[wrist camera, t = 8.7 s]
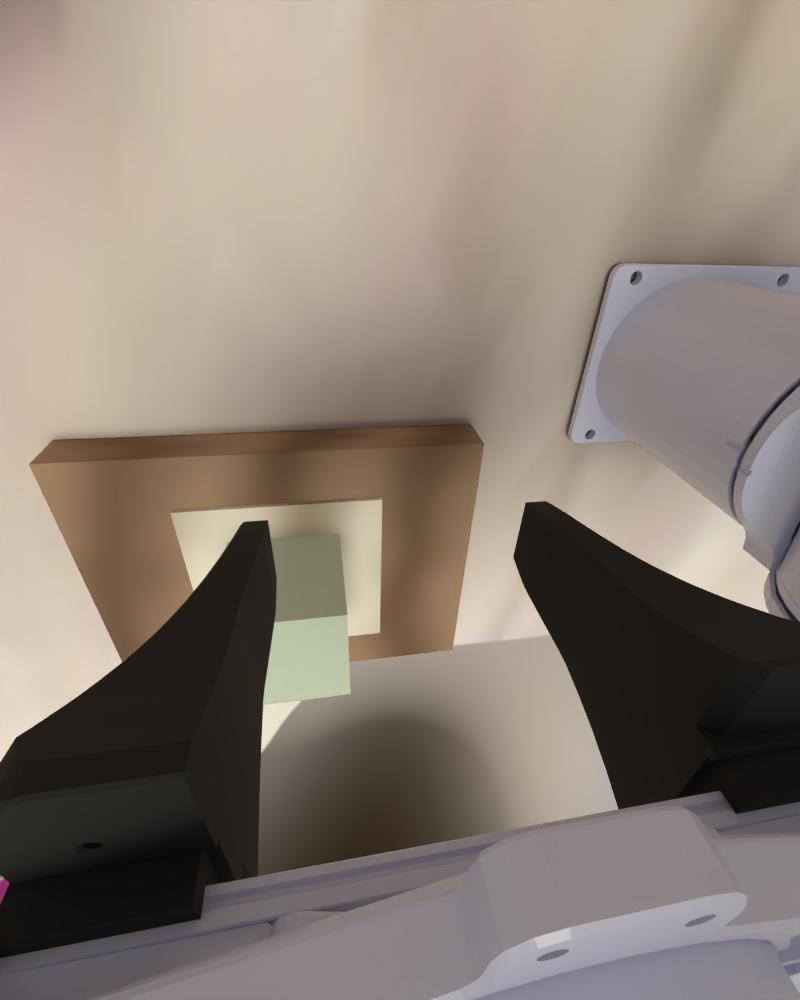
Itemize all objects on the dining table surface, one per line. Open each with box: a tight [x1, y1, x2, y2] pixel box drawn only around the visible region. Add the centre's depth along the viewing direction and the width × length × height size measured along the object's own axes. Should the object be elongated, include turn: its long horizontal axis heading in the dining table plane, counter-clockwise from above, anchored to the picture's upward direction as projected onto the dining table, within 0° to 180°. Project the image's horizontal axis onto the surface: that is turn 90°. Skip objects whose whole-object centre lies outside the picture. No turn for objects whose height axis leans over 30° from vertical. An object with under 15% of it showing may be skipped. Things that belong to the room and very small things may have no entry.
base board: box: [29, 424, 484, 662], centre depth 24 cm, size 18×14×2 cm
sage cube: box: [226, 534, 350, 705], centre depth 20 cm, size 5×5×5 cm
